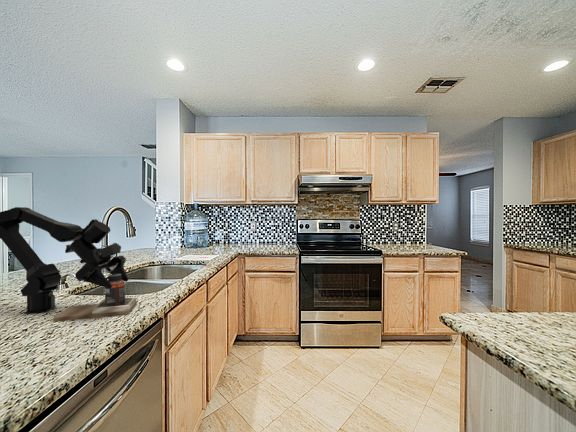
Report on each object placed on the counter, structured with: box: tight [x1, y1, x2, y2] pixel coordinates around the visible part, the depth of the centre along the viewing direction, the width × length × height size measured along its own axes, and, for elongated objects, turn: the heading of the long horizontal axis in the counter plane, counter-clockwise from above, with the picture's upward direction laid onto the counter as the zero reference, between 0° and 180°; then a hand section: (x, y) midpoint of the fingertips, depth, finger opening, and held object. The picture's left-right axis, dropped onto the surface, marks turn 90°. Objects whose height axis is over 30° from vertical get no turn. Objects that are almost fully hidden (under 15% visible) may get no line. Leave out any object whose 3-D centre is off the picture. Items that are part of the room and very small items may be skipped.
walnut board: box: [52, 296, 138, 323], centre depth 96 cm, size 21×12×3 cm, turn 106°
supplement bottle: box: [104, 274, 126, 307], centre depth 97 cm, size 6×6×11 cm
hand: (119, 284), depth 97 cm, fingers open, 9 cm apart
